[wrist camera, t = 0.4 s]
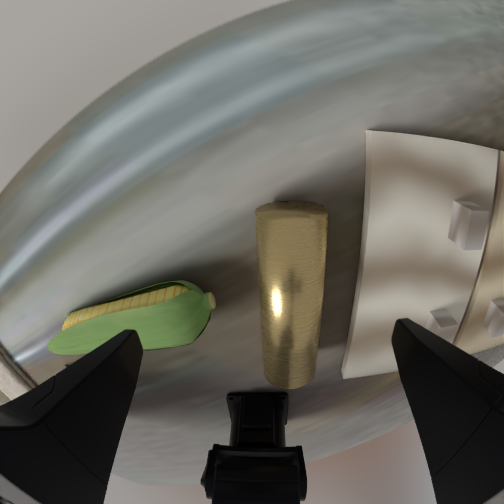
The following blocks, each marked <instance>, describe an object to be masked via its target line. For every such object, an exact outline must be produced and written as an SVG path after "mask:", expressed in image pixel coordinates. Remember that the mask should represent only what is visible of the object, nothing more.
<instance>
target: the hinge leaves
mask: <svg viewBox="0 0 504 504" xmlns="http://www.w3.org/2000/svg"><path fill="white" fill-rule="evenodd" d="M401 318H409V319H411V320H412V321H414V322H416V323H417V324H419V325H421V326H423V327H424V328H426V329H428V330H429V331H431V332H433V333H435V334H436V335H438V336H440V337H441V338H443V339H445V340H446V341H448V342H450V343H451V344H453V345H455V346H457V347H458V348H460V349H462V350H463V351H465V352H467V353H468V354H473V353H476V352H479V351H483V350H486V349H489V348H492V347H495V346H498V345H501V344H504V151H501V150H497V149H493V148H488V147H484V146H479V145H475V144H470V143H465V142H459V141H454V140H448V139H442V138H435V137H429V136H421V135H414V134H405V133H396V132H385V131H373V130H366V167H365V194H364V211H363V225H362V237H361V247H360V257H359V266H358V274H357V282H356V289H355V296H354V303H353V309H352V315H351V321H350V327H349V333H348V338H347V344H346V349H345V354H344V359H343V363H342V368H341V372H342V376H343V379H348V378H356V377H363V376H370V375H377V374H383V373H389V372H395V371H398V367H397V363H396V359H395V355H394V351H393V347H392V343H391V338H392V333H393V329H394V325H395V322H396V320H397V319H401Z"/></svg>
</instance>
